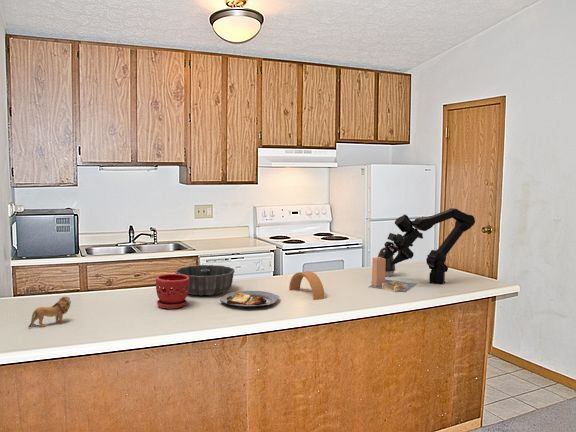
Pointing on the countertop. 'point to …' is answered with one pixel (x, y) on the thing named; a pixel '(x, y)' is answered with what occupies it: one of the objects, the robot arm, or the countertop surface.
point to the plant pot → (172, 290)
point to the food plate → (244, 298)
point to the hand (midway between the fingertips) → (387, 262)
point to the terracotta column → (378, 271)
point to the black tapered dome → (387, 263)
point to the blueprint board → (410, 285)
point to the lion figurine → (51, 311)
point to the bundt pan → (207, 279)
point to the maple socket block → (394, 286)
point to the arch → (313, 281)
